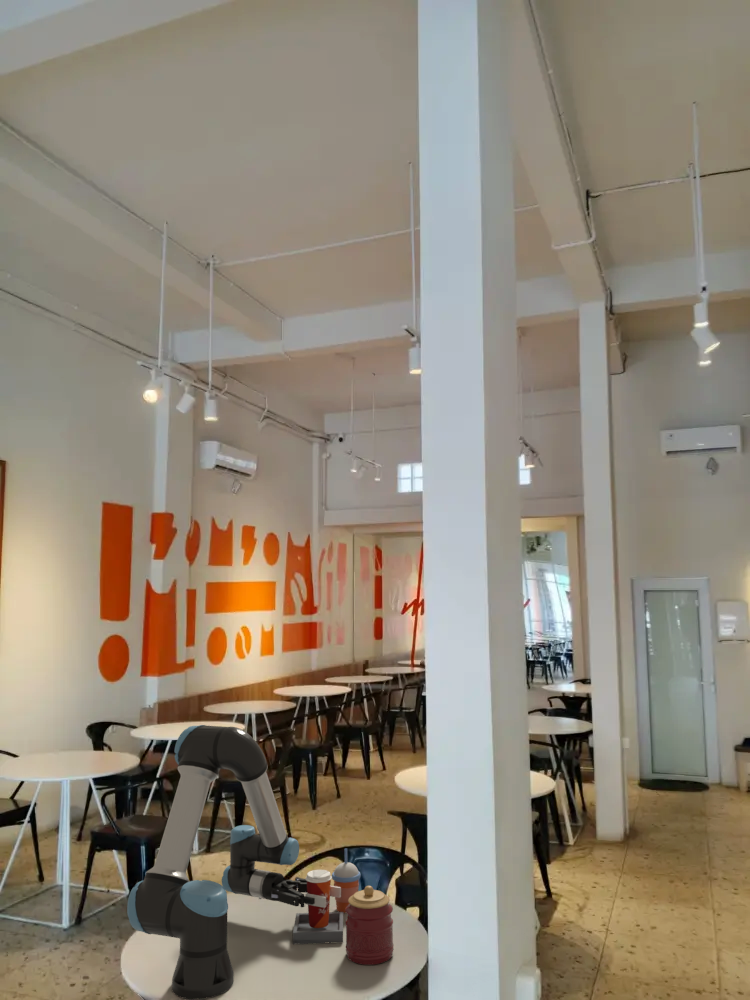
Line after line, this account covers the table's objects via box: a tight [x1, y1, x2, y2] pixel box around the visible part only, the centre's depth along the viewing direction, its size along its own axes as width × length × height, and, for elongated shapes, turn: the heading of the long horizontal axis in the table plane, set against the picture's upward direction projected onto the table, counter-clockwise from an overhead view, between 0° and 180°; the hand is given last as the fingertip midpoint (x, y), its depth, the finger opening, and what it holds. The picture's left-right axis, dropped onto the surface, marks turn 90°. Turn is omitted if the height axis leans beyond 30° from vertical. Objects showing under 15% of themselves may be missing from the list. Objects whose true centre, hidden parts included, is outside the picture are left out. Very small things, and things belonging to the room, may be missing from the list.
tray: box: [292, 911, 344, 945], centre depth 223 cm, size 14×14×3 cm
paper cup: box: [305, 869, 333, 928], centre depth 224 cm, size 8×8×14 cm
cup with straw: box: [331, 847, 362, 914], centre depth 241 cm, size 9×9×18 cm
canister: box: [344, 885, 394, 966], centre depth 209 cm, size 13×13×18 cm
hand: (332, 897), depth 222 cm, fingers open, 8 cm apart
